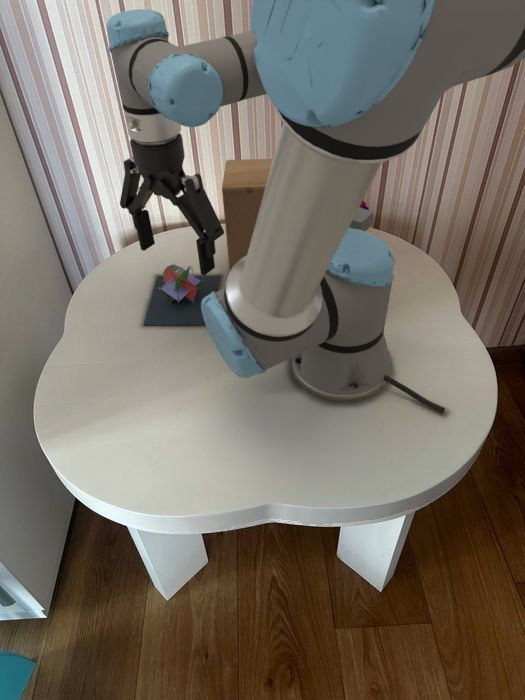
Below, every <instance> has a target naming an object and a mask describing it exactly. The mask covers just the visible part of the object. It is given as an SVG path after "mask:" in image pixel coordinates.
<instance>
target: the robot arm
mask: <svg viewBox="0 0 525 700" xmlns="http://www.w3.org/2000/svg"><path fill="white" fill-rule="evenodd" d="M250 9H251V10H250V14H251V15H250V24H251V25H250V26H251V27H250V28H251V29H250V30H248V31H244V32H241V33H237V34H233V35H228V36H227V35H226V36H221V37H218V38H213V39H208V40H203V41H198V42H195V43H190V44H189V43H188V44H186V45H180V46H177V45H176V44H173V43H171V42H169V37H170V33H169V31H168V28H167V24H166V20H165V17H164V15H162V13H161V12H159V11H157V10H153V9H146V8H145V9H143V8H142V9H131V10H125V11H120V12H117V13H115V14H113V15H111V17H109V18H108V20H107V22H106V32H107V40H108V46H109V47H108V52H110V55H111V60H112V64H113V69H114V73H115V77H116V82H117V87H118V92H119V96H120V101H121V106H122V109H123V115H124V119H125V124H126V130H127V135H128V137H129V138H130V140H129V144H130V145H129V146H130V149H131V154H132V156H131V157H129V158H127V159H125V160H124V161H123V167H124V168H123V170H124V177H123V183H122V190H121V194H120V198H119V199H120V201H119V206H120V207H121V208H122V209H123V210H124V209H126V210H127V211H128V213H129V215H131V217H132V218H131V219H132V222H133V227H134V229H135V230H136V234H137V238H138V242H139V247H140V251H143V252H145V251H146V250H148V249H149V248H151V247H152V246H154V245H155V243H156V242H155V238H154V237H155V236H154V232H153V227H152V224H151V218H150V217H151V216H150V214H149V210H147V209H145V208H146V207H147V204H148V202H149V200H150V199H151V197H152V196H153V195H155V196H158V197H162V198H164V199H165V200H169V201H170V203H171V204H172V205H173V206H175V207H177V208H178V209H179V211H180V212H181V214H182V215H183V217H184V218H185V220H186V221H187V222H188V224H189V225H190V227H191V228H192V230H193V231H194V232H195V234H196V235H197V237H198V238H197V239H195V242H196V243H195V244H196V248H197V249H196V250H197V256H198V257H197V258H198V263H199V269H200V275H201V276H207V275H208V274H209V273H211V271H213V270H214V269H216V263H215V256H214V255H216V252H217V251H216V250H217V249H216V243H215V241H216V240H217V239H219V238H221V237H222V236H223V235H224V234H225V230H224V228H223V226H222V224H221V222H220V220H219V218H218V215H217V213H216V211H215V208H214V207H213V205H212V202H211V200H210V198H209V196H208V194H207V192H206V190H205V187H204V183H203V179H202V175H200V173H195V174H193V175H188V174H186V173H185V171H184V168H183V164H184V161H185V156H186V155H185V149H184V148H185V147H184V141H183V135H182V134H181V132H182V126H183V127H187V128H196V127H197V128H198V127H201V126H204V125H206V124H207V123H208V122H209V121H210V120H211V119H212V118H213V117H214V116H215V115H216V114H217V113H218V112H219V110H220V108H221V107H225V106H228V105H232V104H235V103H239V102H242V101H244V100H245V101H246V100H249V99H252V98H256V97H261V96H265V95H267V97H268V98H269V99H270V101H271V102H272V104H273V107H274V109H275V112H276V114H277V115H278V118H279V119H280V121H281V122H282V124H281V129H280V132H279V136H278V140H277V142H276V143H277V144H276V147H275V151H274V155H273V158H272V159H273V161H272V165H271V169H270V173H269V176H268V180H267V184H266V187H265V191H264V195H263V198H262V202H261V206H260V209H259V213H258V217H257V220H256V224H255V228H254V231H253V235H252V239H251V242H250V246H249V250H248V253H247V255H246V256H245V257H243V258H242V259H240V260H239V261H238V262H237V263H236V264H235V265H234V266H233V268H232V269H231V271H230V270H229V273H228V275H227V277H226V281H225V284H224V285H225V286H224V288H222V289H220V290H218V292H215V291H214V292H211V294H209V295H208V296H206V297H204V298H203V300H202V302H201V311H202V315H203V318H204V321H205V324H206V326H205V327H206V330H207V332H208V334H209V336H210V338H211V340H212V343H213V344H214V347H215V348H216V350H217V352H218V354H219V355H220V357H221V359H222V360H223V362H224V363H225V364H226V366H227V367H228V369H229V370H230V371H231V372H232V373H233V374H234V375H235V376H237V377H239V378H241V379H248V378H251V377H254V376H257V375H259V374H264V373H266V371H269V370H270V369H272V368H274V367H276V366H277V365H280V364H282V363H284V362H286V361H288V360H291V369H292V373H293V376H294V378H295V380H296V382H297V383H298V384H299V385H300V386H301V387H302V388H303V390H305V391H307V392H308V393H309V394H311V395H313V396H314V397H317V398H319V399H321V400H325V401H329V402H333V403H355V402H361V401H363V400H365V399H368V398H371V397H372V396H374V395H376V394H377V393H379V392H380V390H382V389H383V388H384V386H385V385H386V384H387V383H388V384H390V385H392V386H393V387H395V388H397V389H398V390H400V391H402V392H403V393H405V394H406V395H408V396H410V397H411V398H413V399H415V400H416V401H417V402H419V403H421V404H422V405H424V406H426V407H427V408H430V409H431V410H434V411H436V412H439V413H440V414H444V413H445V411H446V407H443V406H441V405H439V404H437V403H435V402H433V401H431V400H429V399H427V398H425V397H424V396H423V395H421V394H419V393H417V392H416V391H414V390H413V389H411V388H410V387H408V386H406V385H404V384H403V383H401V382H399V381H398V380H396V379H395V378H393V377H391V376H390V371H391V366H392V365H391V364H392V362H391V354H390V351H389V347H388V344H387V339H386V337H385V333H384V332H385V325H386V320H387V314H388V308H389V304H390V297H391V292H392V287H393V286H392V285H393V282H394V279H395V277H394V264H395V257H394V254H393V252H392V249H391V247H390V246H389V245H388V244H387V243H386V242H385V241H384V240H383V239H381V238H380V237H378V236H377V235H375V234H373V233H372V232H371V233H368V232H365V231H362V230H358V229H353V228H349V226H350V224H351V222H352V220H353V218H354V216H355V214H356V212H357V210H358V208H359V207H360V205H361V203H362V201H364V198H365V196H366V195H367V193H368V192H369V189H370V187H371V185H372V183H373V181H374V179H375V177H376V176H377V173H378V172H379V170H380V168H381V166H382V164H383V162H384V163H385V162H387V161H392V160H393V159H396V158H398V157H400V156H403V154H406V153H407V151H409V149H411V148H412V146H414V144H415V143H416V142H417V140H418V139H419V137H420V135H421V133H422V131H423V129H424V127H425V126H426V125H427V123H428V121H429V119H430V118H431V115H432V113H433V112H434V110H435V108H436V107H437V105H438V103H439V101H440V100H441V98H442V96H443V95H444V94H446V92H447V91H449V90H450V89H451V88H453V87H456V86H459V85H463V84H465V83H468V82H471V81H475V80H477V79H481V78H484V77H487V76H490V75H493V74H496V73H498V72H502V71H504V70H507V69H510V68H512V67H513V66H515V65H516V64H518V63H520V62H521V61H523V60H525V0H251V8H250ZM141 177H142V179H143V181H142V183H141V184H140V181H141ZM139 185H140V186H139ZM138 190H139V191H138ZM181 192H182V194H181V195H179V194H180V193H181ZM178 195H179V196H178Z"/></svg>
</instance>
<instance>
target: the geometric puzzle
mask: <svg viewBox="0 0 525 700" xmlns="http://www.w3.org/2000/svg"><path fill="white" fill-rule="evenodd" d="M185 268H187V269H185ZM190 270H191V272H192V273H190ZM193 271H194V270H193V267H192V265H188V267H187V266H184V267H182V266H178V265H176V264H175V263H174V264H171V265H167V266H166V267H165V269H164V270H163V271H162V276H163V279H164V281H163V280H162V281H163V283H164V282H165V283H164V285H163V286H162V285H161V286H162V287H161V286H160V288H159V289H160V290H162V291H164V292H165V293H167V294H168V295H169V296H171V297H172V299H171V302H170V303H173V302H172V301H173V300H174V299H175V300H177V301H178V302H174V303H186V302H179V301H181V300H182V298H183V297H184V296H185V297H187V298H188V299H189V300H191V301H192V302H193V303H194V299H195V296H196V293H197V289H198V286H197V287H196V285H197V284H198V283H199V282H200V281H201V280H199V279H197V278H196V277H194V276H195V275H194V272H193ZM161 284H162V283H161ZM199 284H200V283H199ZM163 294H164V293H163ZM169 296H168V297H169ZM185 297H184V298H185ZM169 300H170V299H169Z"/></svg>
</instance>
